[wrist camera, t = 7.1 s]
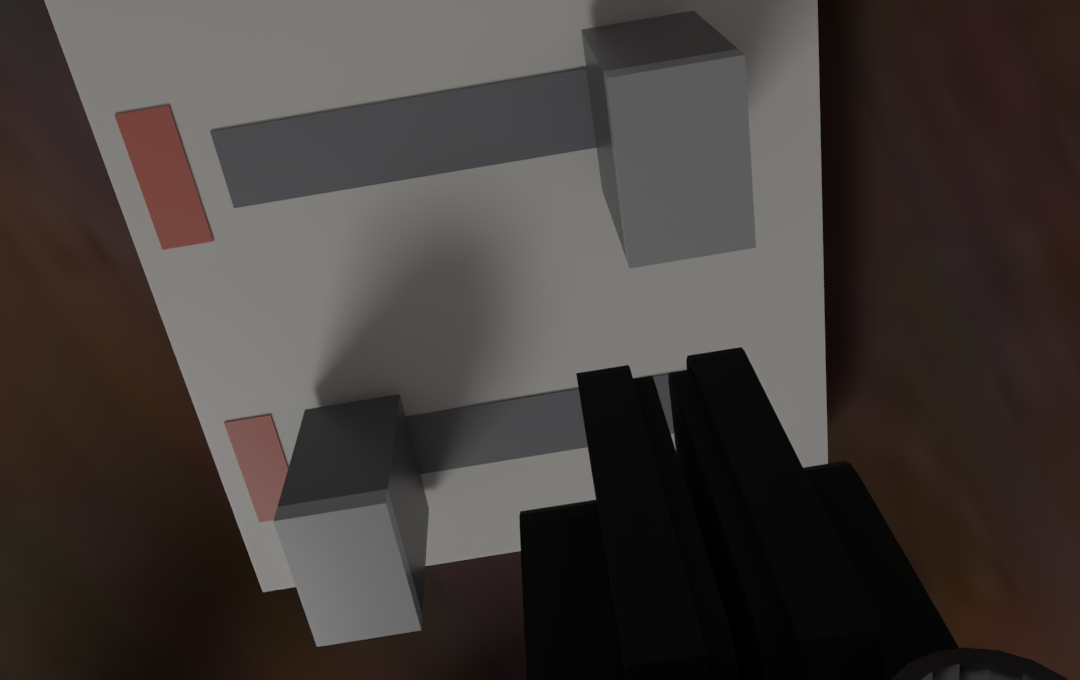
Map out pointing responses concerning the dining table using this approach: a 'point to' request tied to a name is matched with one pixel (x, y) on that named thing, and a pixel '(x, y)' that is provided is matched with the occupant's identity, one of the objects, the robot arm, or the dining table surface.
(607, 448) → the robot arm
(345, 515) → the block
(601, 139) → the block
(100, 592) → the dining table surface
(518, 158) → the breaker panel
